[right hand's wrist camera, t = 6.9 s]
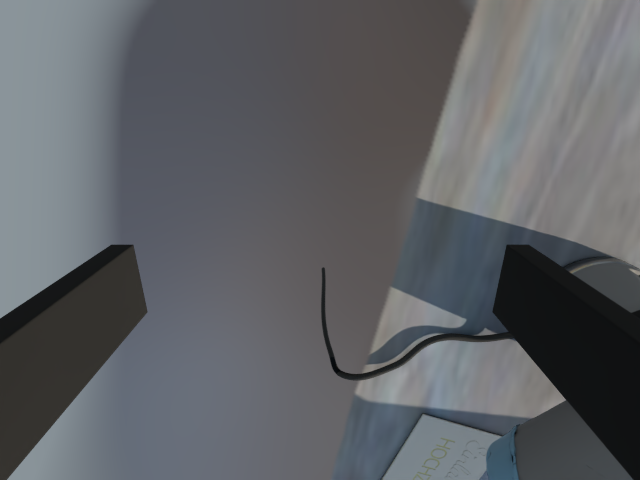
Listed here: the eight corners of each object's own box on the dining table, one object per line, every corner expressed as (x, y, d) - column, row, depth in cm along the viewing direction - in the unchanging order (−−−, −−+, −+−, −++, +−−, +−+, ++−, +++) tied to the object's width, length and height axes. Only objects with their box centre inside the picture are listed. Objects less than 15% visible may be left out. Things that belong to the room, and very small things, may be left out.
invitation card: (423, 415, 52) (510, 440, 54) (422, 413, 52) (509, 438, 54) (368, 502, 59) (446, 521, 61) (367, 501, 59) (446, 520, 61)
